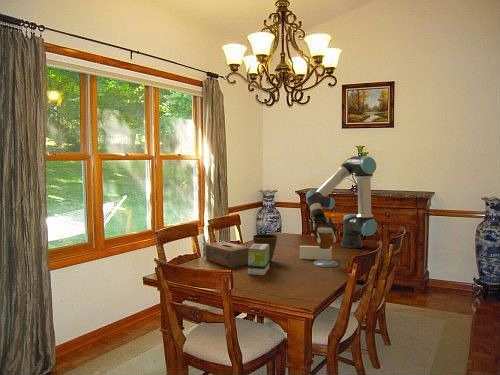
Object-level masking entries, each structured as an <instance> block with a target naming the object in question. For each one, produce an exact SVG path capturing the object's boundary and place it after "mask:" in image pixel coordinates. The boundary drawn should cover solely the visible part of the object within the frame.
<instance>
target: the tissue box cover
mask: <svg viewBox="0 0 500 375" xmlns="http://www.w3.org/2000/svg"><path fill="white" fill-rule="evenodd" d="M249 248H250V247H249V246H245V245H241V244H237V243H232V242H228V241H217V242H212V243H207V244H205V260H206V261H208V262H209V261H210V262H213V263H216V264H219V265H222V266H225V265H226V266H225V267H228V266H229V268H235V267H238V266H243V265H244V266H245V265H248V249H249Z"/></svg>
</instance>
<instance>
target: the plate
mask: <svg viewBox="0 0 500 375" xmlns="http://www.w3.org/2000/svg"><path fill="white" fill-rule="evenodd" d="M339 265H340V263H339V262H338V261H336V260H333V259H332V260H319V259H317V260H314V261H313V266H316V267H319V268H336V267H339Z"/></svg>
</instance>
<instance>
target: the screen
mask: <svg viewBox="0 0 500 375" xmlns="http://www.w3.org/2000/svg"><path fill="white" fill-rule="evenodd" d="M332 258H333V247H332V246H330V249H321V248H320V246H319V245H317V246H316V245H300V246H299V259H300V260H332V261H333V259H332Z"/></svg>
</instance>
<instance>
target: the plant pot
mask: <svg viewBox="0 0 500 375" xmlns="http://www.w3.org/2000/svg"><path fill="white" fill-rule="evenodd" d="M252 237H253V244H269V263H271V262H272V259H273V257H274V255H275V250H276V245H277V240H278V236H277V235H276V234H268V233H260V234H254V235H253V236H252Z"/></svg>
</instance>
